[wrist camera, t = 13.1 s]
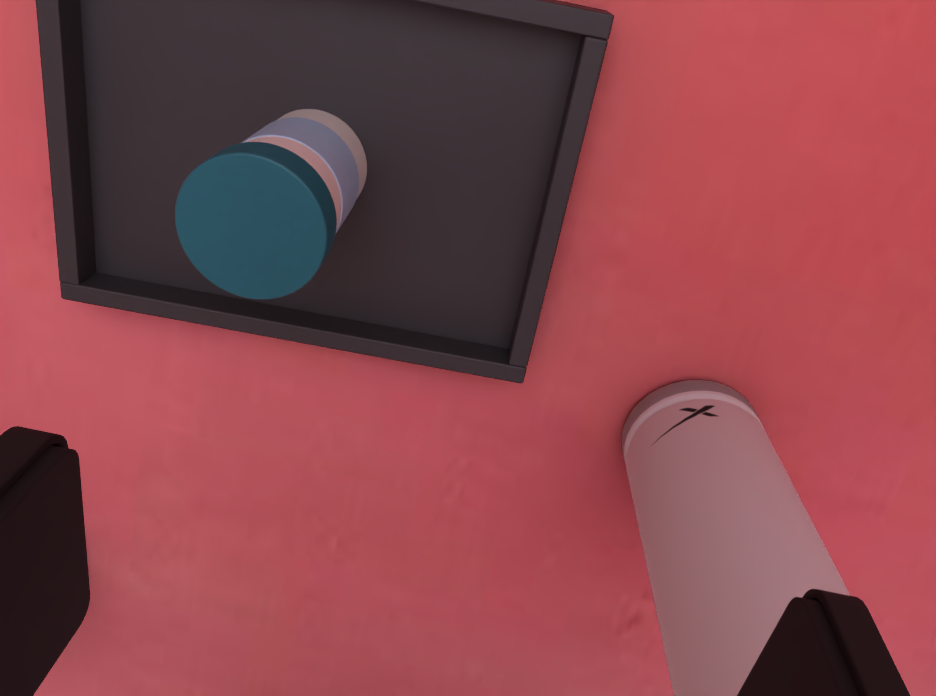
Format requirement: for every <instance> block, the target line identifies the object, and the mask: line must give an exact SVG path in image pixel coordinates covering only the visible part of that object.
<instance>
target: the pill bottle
mask: <svg viewBox="0 0 936 696" xmlns="http://www.w3.org/2000/svg"><path fill="white" fill-rule="evenodd" d="M366 176H367V160H366V156H365V152H364V149H363V146H362V144H361V142H360V140H359V138H358V137H357V135H356V134H355V133H354V131H353V130H352V129H351V128H350V127H349V126H348V125H347V124H346V123H345V122H343V121H342V120H341V119H339V118H338V117H336V116H334V115H332V114H330V113H327V112H325V111H321V110H316V109H300V110H295V111H292V112H289V113H287V114H285V115H283V116H282V117H280V118H279V119H277V120H276V121H274V122H271V123H269V124H268V125H266V126H265V127H263V128H262V129H260V130H259V131H257V132H256V133H254V134H253V135H251V136H250V137H249V138H247V139H246V140H244V141H243V142H241V143H238V144H235V145H231V146H229V147H226V148H224V149H222V150H220V151H219V152H217V153H216V154H214V155H213V156H211V157H210V158H208V159H207V160H205V161H204V162H202V163H201V164H199V165H198V166H197V167H196V168H195V169H194V170H193V171H191V172H190V174H189V175H188V176H187V178H186V179H185V180H184V182H183V184H182V186H181V188H180V190H179V193H178V196H177V200H176V205H175V224H176V229H177V234H178V237H179V240H180V243H181V245H182V247H183V250H184V252H185V253H186V255H187V257H188V258H189V260H190V261H191V263H192V264H193V265H194V266H195V268H196V269H197V270H198V271H199V272H200V273H201V274H202V275H203V276H204V277H205V278H207V279H208V280H209V281H210V282H212V283H213V284H215V285H216V286H218V287H219V288H221V289H223V290H225V291H227V292H229V293H232V294H235V295H237V296H241V297H245V298H250V299H274V298H279V297H283V296H286V295H289V294H291V293H294V292H295V291H297V290H299V289H301V288H302V287H303V286H305V285H306V284H307V283H308V282H309V281H310V280H311V279H312V278H313V277H314V276H315V274H316V273H317V271H318V270H319V268H320V267H321V265H322V264H323V262H324V260H325V259H326V257H327V256H328V254H329V252H330V250H331V248H332V246H333V243H334V239H335V235H336V233H337V231H338V230H339V228H340V227H341V225H342V223H343V222H344V220H345V219H346V217H347V216H348V214H349V213H350V211H351V210H352V208H353V206H354V204H355V202H356V199H357V198H358V196H359V195H360V193H361V191H362V189H363V187H364V184H365V181H366Z"/></svg>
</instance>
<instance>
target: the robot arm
mask: <svg viewBox="0 0 936 696" xmlns="http://www.w3.org/2000/svg"><path fill="white" fill-rule="evenodd" d="M89 601H90V589H89V576H88V564H87V552H86V539H85V527H84V515H83V502H82V490H81V478H80V466H79V457H78V453H77V452H76V450H73V449H68V445H67V441H66V439H65V438H64V436H61V435H58V434H53V433H48V432H43V431H38V430H33V429H28V428H23V427H18V426H16V427H12V428H10V429H8V430H7V431H6V432H4V433H3V434H2V435H1V436H0V696H33V695H34V693H35V692H36V690H37V689H38V687H39V686H40V684H41V683H42V681H43V680H44V678H45V677H46V675H47V674H48V672H49V671H50V669H51V668H52V667H53V665H54V664H55V662H56V661H57V659H58V658H59V656H60V655H61V653H62V652H63V650H64V649H65V647H66V646H67V644H68V643H69V641H70V640H71V638H72V637H73V635H74V634H75V632H76V631H77V629H78V628H79V626H80V625H81V623H82V621H83V619H84V617H85V615H86V612H87V609H88V606H89ZM737 696H910V694H909V692H908V690H907V688H906V686H905V684H904V682H903V680H902V678H901V676H900V674H899V672H898V670H897V668H896V666H895V664H894V662H893V660H892V657H891V655H890V653H889V651H888V649H887V647H886V645H885V643H884V641H883V639H882V637H881V635H880V633H879V631H878V629H877V627H876V625H875V623H874V621H873V619H872V617H871V615H870V613H869V611H868V608H867V607H866V605H865V604H864V602H863V601H862V600H860V599H859V598H857V597H853V596H848V595H843V594H839V593H834V592H829V591H824V590H819V589H810V590H809V591H807V592H806V593H805V594H804V596H803V597H802V598H801V597H795V598H793V599H792V600H791V601H790V602H789V604H788V605H787V607H786V609H785V611H784V613H783V614H782V616H781V618H780V620H779V621H778V623H777V625H776V627H775V629H774V630H773V632H772V634H771V636H770V637H769V639H768V641H767V643H766V645H765V646H764V648H763V650H762V652H761V654H760V655H759V657H758V659H757V661H756V662H755V664H754V666H753V668H752V670H751V671H750V673H749V675H748V677H747V678H746V680H745V682H744V684H743V686H742V687H741V689H740V691H739V693H738V695H737Z"/></svg>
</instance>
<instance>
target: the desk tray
mask: <svg viewBox="0 0 936 696" xmlns="http://www.w3.org/2000/svg"><path fill="white" fill-rule="evenodd" d="M36 8H37V19H38V31H39V43H40V55H41V67H42V78H43V90H44V102H45V114H46V125H47V137H48V149H49V161H50V173H51V184H52V196H53V208H54V220H55V231H56V243H57V255H58V267H59V278H60V281H61V283H60V285H61V297H62V298H63V299H67V300H72V301H78V302H83V303H89V304H94V305H99V306H105V307H110V308H116V309H121V310H126V311H132V312H137V313H143V314H148V315H154V316H159V317H164V318H170V319H175V320H181V321H186V322H191V323H197V324H202V325H208V326H213V327H219V328H224V329H229V330H235V331H240V332H246V333H251V334H256V335H262V336H267V337H273V338H278V339H283V340H289V341H294V342H300V343H305V344H311V345H316V346H321V347H327V348H332V349H338V350H343V351H348V352H354V353H359V354H365V355H370V356H376V357H381V358H386V359H392V360H397V361H403V362H408V363H413V364H419V365H424V366H430V367H435V368H441V369H446V370H451V371H457V372H462V373H468V374H473V375H478V376H484V377H489V378H495V379H500V380H506V381H511V382H516V383H523V381H524V377H525V373H526V366H527V365H528V361H529V357H530V352H531V348H532V344H533V340H534V336H535V332H536V328H537V324H538V320H539V316H540V312H541V308H542V304H543V300H544V296H545V292H546V288H547V284H548V280H549V276H550V272H551V268H552V264H553V260H554V256H555V252H556V248H557V244H558V240H559V236H560V232H561V228H562V224H563V220H564V216H565V212H566V208H567V204H568V200H569V196H570V192H571V188H572V184H573V179H574V175H575V171H576V167H577V163H578V159H579V155H580V151H581V147H582V143H583V139H584V135H585V131H586V127H587V123H588V119H589V115H590V111H591V107H592V103H593V99H594V95H595V91H596V87H597V83H598V79H599V75H600V71H601V67H602V63H603V59H604V55H605V51H606V47H607V39H608V38H609V35H610V31H611V27H612V23H613V19H614V15H612V14H611V13H609V12H608V11H606V10H601V9H596V8H591V7H586V6H582V5H577V4H572V3H567V2H562V1H557V0H36ZM300 109H316V110H321V111H325V112H327V113H330V114H332V115H334V116H336V117H338V118H339V119H341V120H342V121H343V122H345V123H346V124H347V125H348V126H349V127H350V128H351V129H352V130H353V131H354V133H355V134H356V135H357V137H358V138H359V140H360V142H361V144H362V146H363V149H364V152H365V156H366V160H367V176H366V181H365V184H364V187H363V189H362V191H361V193H360V195H359V196H358V198H357V199H356V202H355V204H354V206H353V208H352V210H351V211H350V213H349V214H348V216H347V217H346V219H345V220H344V222H343V223H342V225H341V227H340V228H339V230H338V231H337V233H336V235H335V239H334V243H333V246H332V248H331V250H330V252H329V254H328V256H327V257H326V259H325V260H324V262H323V264H322V265H321V267H320V268H319V270H318V271H317V273H316V274H315V276H314V277H313V278H312V279H311V280H310V281H309V282H308V283H307V284H306V285H305V286H303V287H302V288H301V289H299V290H297V291H295V292H294V293H291V294H289V295H286V296H283V297H279V298H274V299H250V298H245V297H241V296H237V295H235V294H232V293H229V292H227V291H225V290H223V289H221V288H219V287H218V286H216V285H215V284H213V283H212V282H210V281H209V280H208V279H207V278H205V277H204V276H203V275H202V274H201V273H200V272H199V271H198V270H197V269H196V268H195V266H194V265H193V264H192V263H191V261H190V260H189V258H188V257H187V255H186V253H185V252H184V250H183V247H182V245H181V243H180V240H179V237H178V234H177V229H176V224H175V205H176V200H177V196H178V193H179V190H180V188H181V186H182V184H183V182H184V180H185V179H186V178H187V176H188V175H189V174H190V172H191V171H193V170H194V169H195V168H196V167H197V166H198V165H199V164H201V163H202V162H204V161H205V160H207V159H208V158H210V157H211V156H213V155H214V154H216V153H217V152H219V151H220V150H222V149H224V148H226V147H229V146H231V145H235V144H238V143H241V142H243V141H244V140H246V139H247V138H249V137H250V136H251V135H253V134H254V133H256V132H257V131H259V130H260V129H262V128H263V127H265V126H266V125H268V124H269V123H271V122H274V121H276V120H277V119H279V118H280V117H282V116H283V115H285V114H287V113H289V112H292V111H295V110H300Z"/></svg>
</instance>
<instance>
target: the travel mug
mask: <svg viewBox="0 0 936 696" xmlns="http://www.w3.org/2000/svg"><path fill="white" fill-rule="evenodd" d="M621 446H622V451H623V456H624V460H625V465H626V470H627V475H628V479H629V484H630V489H631V494H632V499H633V503H634V508H635V513H636V518H637V522H638V527H639V532H640V537H641V542H642V546H643V551H644V556H645V561H646V565H647V570H648V575H649V580H650V584H651V589H652V594H653V599H654V604H655V608H656V613H657V618H658V623H659V627H660V632H661V637H662V642H663V646H664V651H665V656H666V661H667V666H668V670H669V675H670V680H671V685H672V689H673V694H674V696H737V695H738V693H739V691H740V689H741V687H742V686H743V684H744V682H745V680H746V678H747V677H748V675H749V673H750V671H751V670H752V668H753V666H754V664H755V662H756V661H757V659H758V657H759V655H760V654H761V652H762V650H763V648H764V646H765V645H766V643H767V641H768V639H769V637H770V636H771V634H772V632H773V630H774V629H775V627H776V625H777V623H778V621H779V620H780V618H781V616H782V614H783V613H784V611H785V609H786V607H787V605H788V604H789V602H790V601H791V600H792V599H793V598H795V597H801V598H802V597H803V596H804V594H805V593H806V592H807V591H809V590H810V589H819V590H824V591H829V592H834V593H839V594H843V595H848V596H850V594H849V592H848V590H847V588H846V586H845V584H844V582H843V580H842V578H841V576H840V574H839V572H838V570H837V568H836V567H835V565H834V563H833V561H832V559H831V557H830V555H829V553H828V551H827V549H826V547H825V545H824V543H823V541H822V540H821V538H820V536H819V534H818V532H817V530H816V528H815V526H814V524H813V522H812V520H811V518H810V516H809V514H808V512H807V511H806V509H805V507H804V505H803V503H802V501H801V499H800V497H799V495H798V493H797V491H796V489H795V487H794V485H793V483H792V482H791V480H790V478H789V476H788V474H787V472H786V470H785V468H784V466H783V464H782V462H781V460H780V458H779V456H778V454H777V453H776V451H775V449H774V447H773V445H772V443H771V441H770V439H769V437H768V435H767V433H766V431H765V430H764V428H763V426H762V424H761V422H760V420H759V418H758V416H757V414H756V412H755V410H754V408H753V407H752V406H751V404H750V403H749V401H748V400H747V399H746V398H745V397H744V396H743V395H741V394H740V393H739V392H738V391H736V390H734V389H732V388H731V387H729V386H727V385H724V384H721V383H718V382H714V381H707V380H685V381H680V382H675V383H671V384H669V385H666V386H663V387H661V388H659V389H657V390H655V391H654V392H652V393H650V394H648V395H647V396H646V397H645V398H644V399H642V400H641V401H640V402H639V403H638V404H637V405H636V406H635V407H634V409H633V410H632V411H631V412H630V414H629V416H628V418H627V420H626V422H625V424H624V427H623V431H622V439H621Z"/></svg>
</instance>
